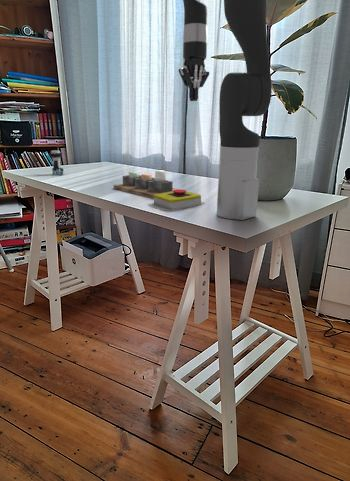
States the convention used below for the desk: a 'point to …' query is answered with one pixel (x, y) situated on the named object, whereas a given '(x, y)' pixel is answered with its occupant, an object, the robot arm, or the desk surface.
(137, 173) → the sage key
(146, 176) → the peach small block
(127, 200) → the desk surface
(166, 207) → the emergency button
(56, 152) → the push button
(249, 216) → the robot arm
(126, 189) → the brown wooden flat board
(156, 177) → the ivory key
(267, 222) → the desk surface
